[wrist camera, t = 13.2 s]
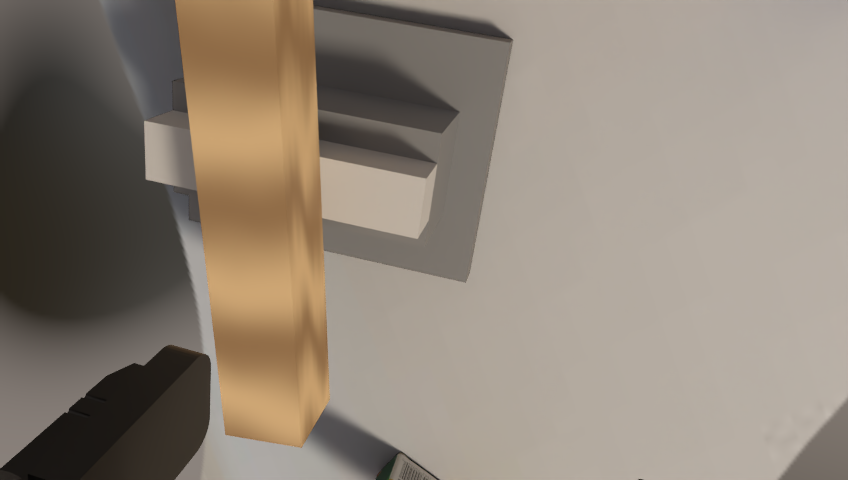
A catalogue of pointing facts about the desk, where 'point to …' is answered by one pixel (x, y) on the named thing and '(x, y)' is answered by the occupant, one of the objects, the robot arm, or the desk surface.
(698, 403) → the desk surface
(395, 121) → the balance stand
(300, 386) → the oak bar
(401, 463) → the crayon box
